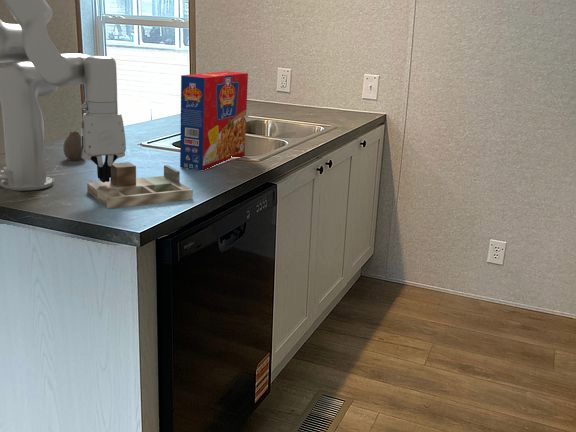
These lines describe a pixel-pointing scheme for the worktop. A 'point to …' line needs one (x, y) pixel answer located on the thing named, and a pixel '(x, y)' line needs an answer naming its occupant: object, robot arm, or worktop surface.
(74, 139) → the vase
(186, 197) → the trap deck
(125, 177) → the walnut block
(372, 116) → the worktop surface
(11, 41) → the robot arm
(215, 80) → the pasta box
